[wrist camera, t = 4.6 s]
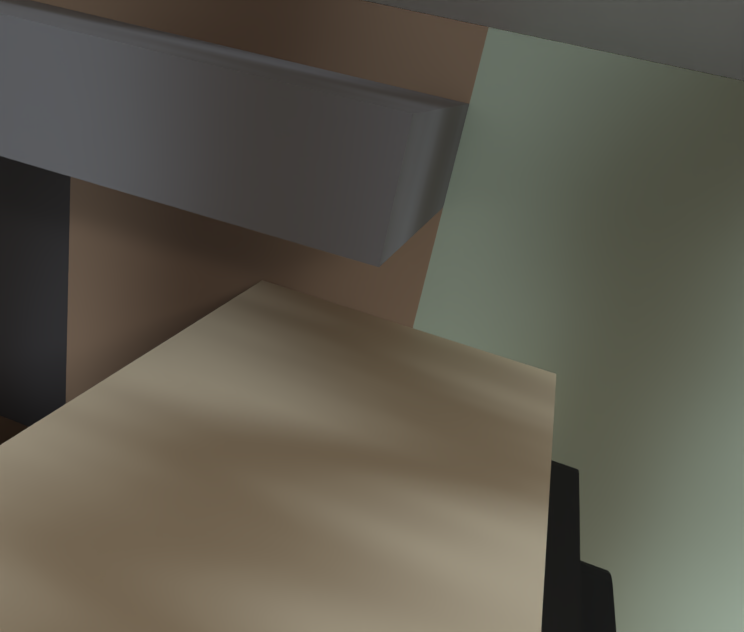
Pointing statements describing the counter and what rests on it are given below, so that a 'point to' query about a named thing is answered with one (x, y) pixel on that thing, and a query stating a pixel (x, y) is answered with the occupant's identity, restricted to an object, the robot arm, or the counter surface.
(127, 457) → the ash block
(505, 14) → the counter surface
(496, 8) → the counter surface
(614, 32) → the counter surface
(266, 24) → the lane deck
